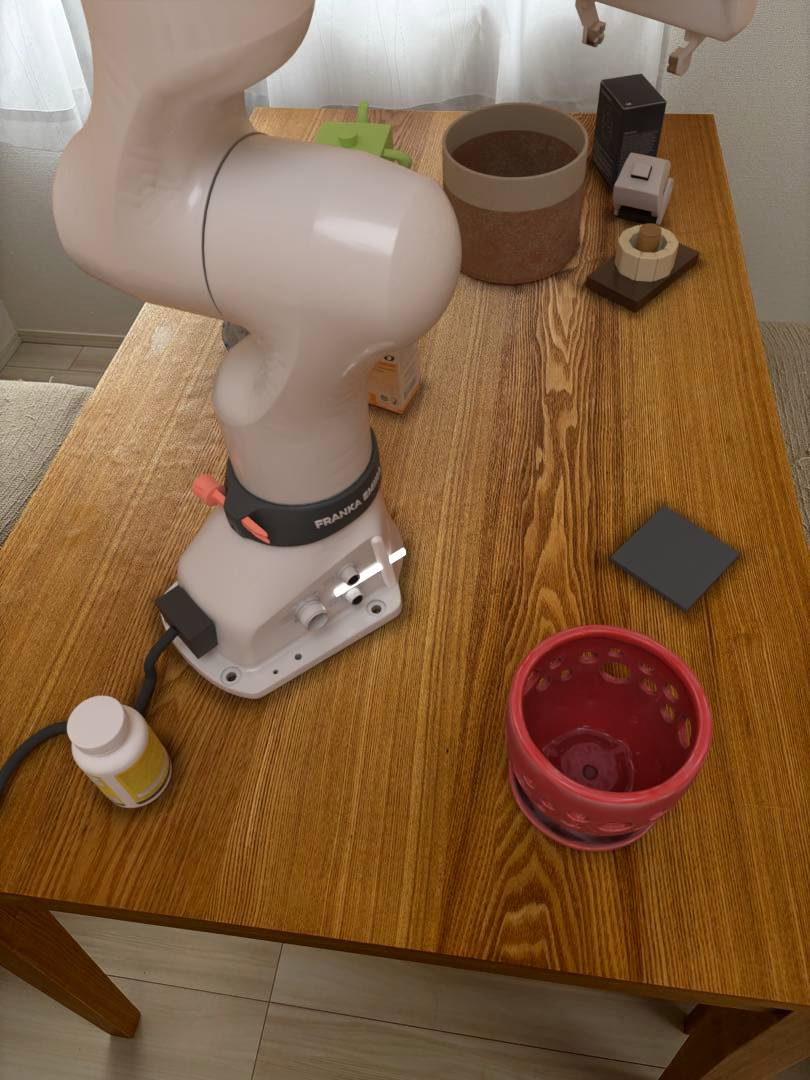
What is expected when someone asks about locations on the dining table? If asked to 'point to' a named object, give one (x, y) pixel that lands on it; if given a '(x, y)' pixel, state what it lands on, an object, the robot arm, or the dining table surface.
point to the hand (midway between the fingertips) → (634, 57)
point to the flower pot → (602, 736)
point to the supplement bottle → (118, 751)
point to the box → (626, 123)
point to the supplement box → (395, 379)
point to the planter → (515, 189)
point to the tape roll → (645, 256)
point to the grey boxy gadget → (643, 189)
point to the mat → (674, 558)
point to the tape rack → (639, 292)
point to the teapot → (363, 137)
